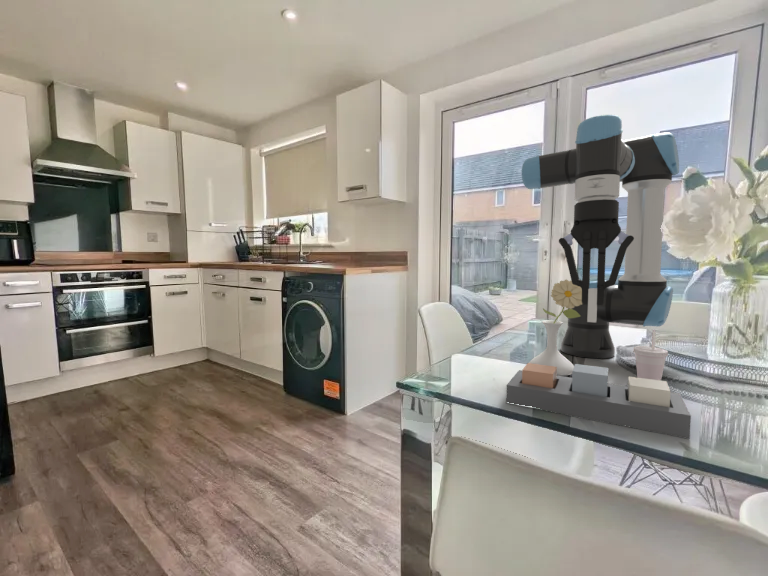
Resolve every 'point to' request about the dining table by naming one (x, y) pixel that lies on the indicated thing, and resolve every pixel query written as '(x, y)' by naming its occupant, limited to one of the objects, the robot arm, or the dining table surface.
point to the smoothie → (650, 360)
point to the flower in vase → (567, 298)
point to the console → (603, 406)
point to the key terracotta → (539, 375)
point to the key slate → (590, 380)
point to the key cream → (648, 391)
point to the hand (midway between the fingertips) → (591, 321)
